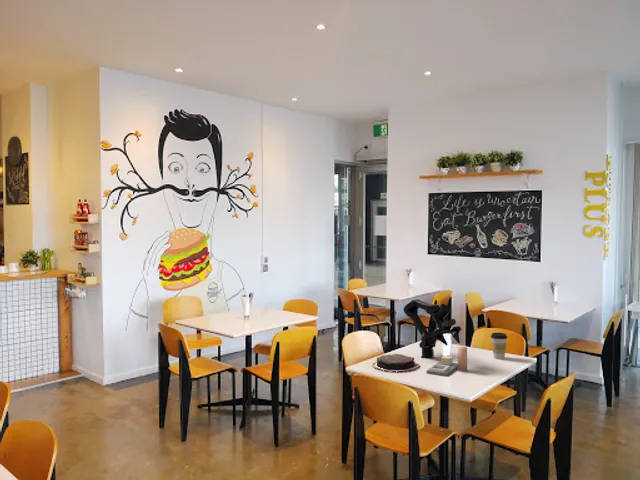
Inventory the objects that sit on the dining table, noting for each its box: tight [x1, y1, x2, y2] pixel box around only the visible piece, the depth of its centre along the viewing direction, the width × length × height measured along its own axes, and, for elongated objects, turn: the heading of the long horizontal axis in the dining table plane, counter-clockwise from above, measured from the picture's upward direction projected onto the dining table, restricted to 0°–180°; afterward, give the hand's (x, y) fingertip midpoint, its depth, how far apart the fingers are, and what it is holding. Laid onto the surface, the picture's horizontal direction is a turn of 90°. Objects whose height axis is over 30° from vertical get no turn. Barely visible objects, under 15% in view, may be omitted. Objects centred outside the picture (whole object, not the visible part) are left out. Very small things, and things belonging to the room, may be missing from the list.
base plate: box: [426, 355, 458, 377], centre depth 305 cm, size 12×23×6 cm, turn 148°
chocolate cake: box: [371, 353, 420, 373], centre depth 315 cm, size 28×28×7 cm
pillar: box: [457, 346, 468, 372], centre depth 302 cm, size 5×5×13 cm
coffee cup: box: [490, 332, 508, 360], centre depth 326 cm, size 10×10×15 cm
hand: (453, 343), depth 309 cm, fingers open, 9 cm apart
